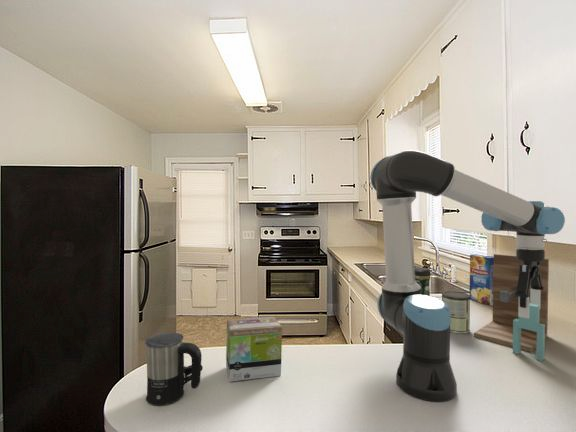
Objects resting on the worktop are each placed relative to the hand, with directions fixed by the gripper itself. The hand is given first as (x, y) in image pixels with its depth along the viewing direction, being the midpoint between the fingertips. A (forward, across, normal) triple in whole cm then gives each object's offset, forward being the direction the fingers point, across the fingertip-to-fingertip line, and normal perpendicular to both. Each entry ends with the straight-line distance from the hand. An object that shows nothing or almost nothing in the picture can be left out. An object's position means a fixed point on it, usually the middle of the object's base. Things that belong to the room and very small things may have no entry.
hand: (529, 312), depth 109 cm
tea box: (+14, -75, +50) cm, 92 cm away
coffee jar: (+14, +30, +53) cm, 63 cm away
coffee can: (+14, +7, +26) cm, 31 cm away
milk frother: (+13, -96, +56) cm, 112 cm away
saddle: (+14, 0, 0) cm, 14 cm away
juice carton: (+15, +60, +33) cm, 70 cm away
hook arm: (0, +15, +9) cm, 17 cm away
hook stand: (+14, +15, +9) cm, 22 cm away
